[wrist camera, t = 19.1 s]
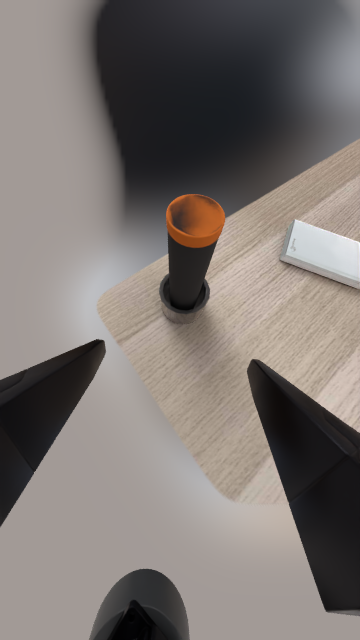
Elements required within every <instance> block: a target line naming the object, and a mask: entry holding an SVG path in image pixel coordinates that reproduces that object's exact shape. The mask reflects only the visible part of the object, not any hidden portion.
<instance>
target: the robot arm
mask: <svg viewBox="0 0 360 640" xmlns="http://www.w3.org/2000/svg"><path fill="white" fill-rule="evenodd" d="M105 353H106V349H105V342H104V340H99V339H96V340H94V341H91V342H89V343H87V344H85V345H82V346H80V347H77V348H75V349H73V350H70V351H68V352H66V353H63V354H61V355H59V356H56V357H54V358H51V359H50V360H47V361H45V362H42V363H40V364H37V365H35V366H33V367H30V368H28V369H26V370H24V371H21V372H19V373H17V374H14V375H11V376H9V377H7V378H4V379H2V380H0V526H1V525H2V524H3V522H4V520H5V519H6V517H7V515H8V514H9V512H10V511H11V509H12V508H13V506H14V504H15V503H16V501H17V500H18V498H19V497H20V495H21V493H22V492H23V490H24V488H25V487H26V485H27V484H28V482H29V481H30V479H31V477H32V475H33V474H34V472H35V471H36V469H37V468H38V466H39V464H40V463H41V461H42V460H43V458H44V456H45V455H46V453H47V452H48V450H49V448H50V447H51V445H52V444H53V442H54V440H55V439H56V437H57V436H58V434H59V432H60V431H61V429H62V427H63V426H64V424H65V423H66V421H67V420H68V418H69V416H70V414H71V413H72V412H73V410H74V409H75V407H76V405H77V404H78V402H79V401H80V399H81V397H82V396H83V394H84V393H85V391H86V389H87V388H88V386H89V384H90V383H91V381H92V380H93V378H94V376H95V374H96V372H97V370H98V368H99V366H100V364H101V362H102V360H103V358H104V356H105ZM247 374H248V379H249V383H250V387H251V392H252V396H253V399H254V402H255V405H256V408H257V411H258V414H259V417H260V420H261V423H262V426H263V429H264V432H265V435H266V438H267V441H268V444H269V447H270V450H271V452H272V455H273V458H274V461H275V464H276V467H277V470H278V473H279V476H280V479H281V482H282V485H283V488H284V491H285V494H286V497H287V500H288V502H289V506H290V509H291V512H292V515H293V518H294V520H295V524H296V526H297V530H298V532H299V535H300V538H301V541H302V544H303V547H304V550H305V553H306V556H307V559H308V562H309V565H310V568H311V571H312V574H313V576H314V580H315V583H316V585H317V588H318V591H319V594H320V597H321V600H322V603H323V605H324V608H325V610H326V612H329V613H337V614H346V615H355V616H360V433H359V432H357V431H356V430H354V429H353V428H351V427H350V426H349V425H347V424H346V423H344V422H343V421H341V420H340V419H339V418H337V417H336V416H335V415H333V414H332V413H330V412H329V411H328V410H326V409H325V408H324V407H322V406H321V405H320V404H318V403H317V402H316V401H314V400H313V399H311V398H310V397H309V396H307V395H306V394H305V393H303V392H302V391H301V390H299V389H298V388H297V387H295V386H294V385H293V384H291V383H290V382H288V381H287V380H286V379H284V378H283V377H282V376H280V375H279V374H278V373H276V372H275V371H274V370H272V369H271V368H270V367H268V366H267V365H266V364H264V363H263V362H261V361H260V360H257V359H252V360H251V362H250V364H249V366H248V369H247ZM131 612H133V613H134V614H133V615H132V614H130V613H131ZM107 640H168V639H167V637H166V636H165V635H164V634H163V632H162V631H161V630H160V629H159V627H158V626H157V625H156V624H155V622H154V621H153V620H152V619H151V617H150V616H149V615H148V614H147V612H146V611H145V610H144V609H143V608H142V606H141V605H140V604H139V603H138V601H136V600H131V601H130V602H129V603H128V605H127V606H126V608H125V610H124V612H123V613H122V615H121V617H120V618H119V620H118V622H117V624H116V625H115V627H114V629H113V630H112V632H111V634H110V636H109V637H108V639H107Z"/></svg>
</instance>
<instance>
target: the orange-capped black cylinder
mask: <svg viewBox="0 0 360 640" xmlns="http://www.w3.org/2000/svg"><path fill="white" fill-rule="evenodd" d="M166 219H167V229H168V254H169V284H170V305H171V306H172V307H174V308H176V309H178V310H186V311H187V310H191V309H194V307H195V304H196V301H197V298H198V295H199V293H200V290H201V287H202V284H203V281H204V278H205V275H206V272H207V269H208V267H209V264H210V261H211V258H212V255H213V252H214V249H215V246H216V244H217V241H218V238H219V236H220V234H221V232H222V229H223V226H224V223H225V214H224V211H223V209H222V208H221V207H220V205H219V204H218V203H217V202H215V201H214V200H212V199H210V198H208V197H206V196H202V195H196V194H190V195H184V196H181V197H179V198H177V199H175V200H174V201H172V203H171V204H170V205H169V207H168V209H167V213H166Z"/></svg>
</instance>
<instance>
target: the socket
mask: <svg viewBox="0 0 360 640" xmlns="http://www.w3.org/2000/svg"><path fill="white" fill-rule="evenodd" d="M159 295H160V301H161V306H162V310H163V313H164V314H165V316H166V317H167V318H168V319H169V320H171V321H172V322H174V323H177V324H189V323H191V322H194V321H195V320H196V319H198V318H199V316H200V315H201V313H202V311H203V310H204V308H205V306H206V304H207V302H208V300H209V295H210V288H209V286H208V283H207V281H206V280H205V278H204V281H203V284H202V287H201V290H200V293H199V295H198V298H197V301H196V304H195V307H194V309H191V310H187V311H186V310H178V309H176V308H174V307H172V306H171V305H170V284H169V274H167V275H166V276H165V277H164V278H163V280H162V281H161V283H160V288H159Z"/></svg>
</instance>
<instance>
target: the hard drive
mask: <svg viewBox="0 0 360 640" xmlns="http://www.w3.org/2000/svg"><path fill="white" fill-rule="evenodd" d="M280 260H282V261H284V262H287V263H290V264H292V265H295V266H298V267H300V268H303V269H306V270H308V271H311V272H314V273H317V274H319V275H322V276H325V277H327V278H330V279H333V280H336V281H338V282H341V283H344V284H346V285H349V286H352V287H354V288H357V289H360V242H357V241H354V240H351V239H349V238H346V237H343V236H341V235H338V234H335V233H332V232H329V231H326V230H323V229H321V228H318V227H315V226H312V225H309V224H307V223H304V222H301V221H298V220H295V219H294V220H293V221H292V223H291V224H290V225H289V227H288V231H287V234H286V238H285V241H284V245H283V249H282V252H281V256H280Z"/></svg>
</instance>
